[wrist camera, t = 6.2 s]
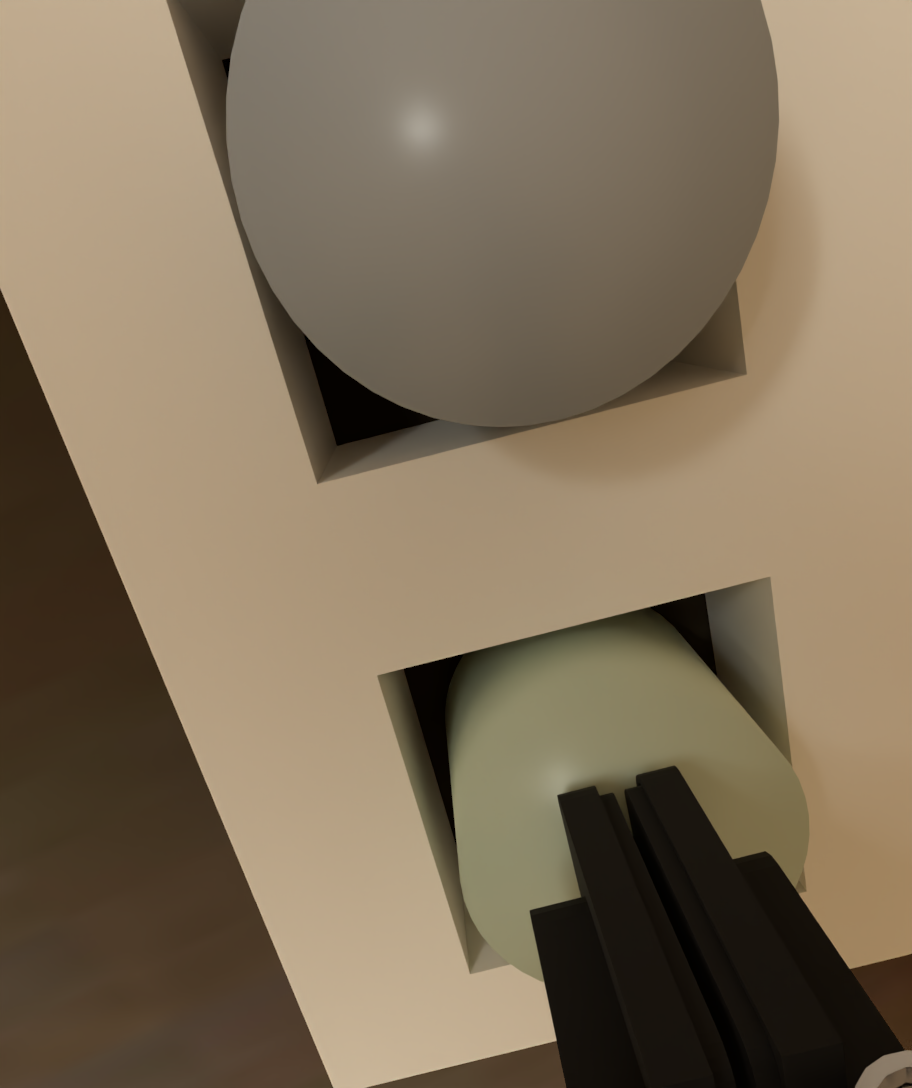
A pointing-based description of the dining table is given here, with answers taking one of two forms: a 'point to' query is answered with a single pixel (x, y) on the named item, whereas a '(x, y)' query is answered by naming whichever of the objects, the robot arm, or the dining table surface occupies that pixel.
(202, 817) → the dining table surface
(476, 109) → the grey button
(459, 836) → the sage button
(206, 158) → the button panel
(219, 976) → the dining table surface
